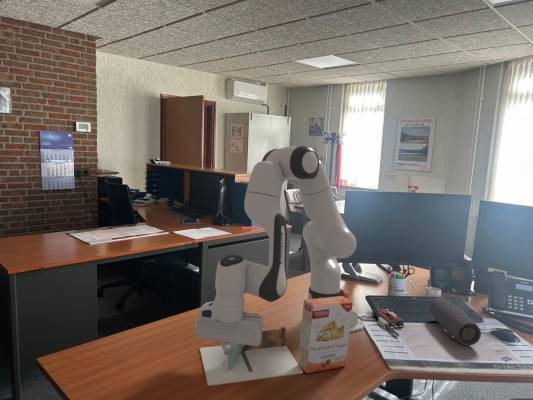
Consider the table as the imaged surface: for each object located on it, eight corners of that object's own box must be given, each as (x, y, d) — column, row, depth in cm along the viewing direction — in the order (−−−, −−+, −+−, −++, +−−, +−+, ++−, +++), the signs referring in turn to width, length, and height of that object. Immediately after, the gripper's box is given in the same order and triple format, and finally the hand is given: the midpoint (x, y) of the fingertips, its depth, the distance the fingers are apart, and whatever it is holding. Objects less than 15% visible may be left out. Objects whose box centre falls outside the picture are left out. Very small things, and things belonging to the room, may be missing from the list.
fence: (284, 343, 130) (284, 326, 129) (285, 346, 128) (286, 329, 127) (243, 348, 126) (244, 330, 125) (244, 350, 124) (245, 333, 123)
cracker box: (306, 375, 112) (312, 306, 110) (297, 364, 118) (302, 298, 115) (346, 367, 118) (353, 301, 115) (335, 357, 123) (341, 294, 121)
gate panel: (240, 347, 125) (241, 331, 125) (243, 348, 125) (244, 332, 124) (227, 370, 113) (228, 352, 112) (230, 370, 112) (231, 352, 112)
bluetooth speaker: (481, 349, 132) (484, 321, 131) (454, 348, 132) (457, 321, 131) (449, 320, 155) (452, 296, 153) (426, 319, 155) (428, 295, 153)
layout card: (281, 340, 133) (281, 338, 133) (303, 373, 114) (303, 371, 114) (199, 349, 125) (199, 347, 125) (208, 386, 106) (208, 384, 106)
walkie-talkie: (367, 315, 157) (395, 339, 138) (368, 305, 156) (396, 327, 137) (386, 314, 159) (416, 337, 140) (387, 303, 159) (418, 325, 139)
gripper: (265, 310, 116) (263, 354, 117) (200, 302, 119) (199, 344, 121) (261, 319, 109) (259, 365, 111) (193, 310, 113) (191, 354, 115)
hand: (227, 354), depth 116 cm, fingers closed
